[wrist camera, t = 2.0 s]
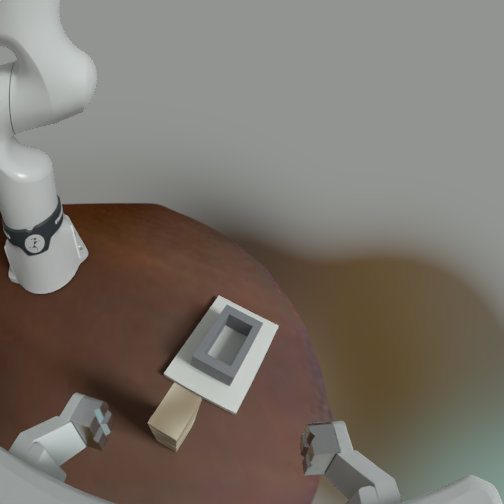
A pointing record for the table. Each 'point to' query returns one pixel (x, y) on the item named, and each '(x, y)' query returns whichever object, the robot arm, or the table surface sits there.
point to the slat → (174, 417)
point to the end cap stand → (223, 354)
